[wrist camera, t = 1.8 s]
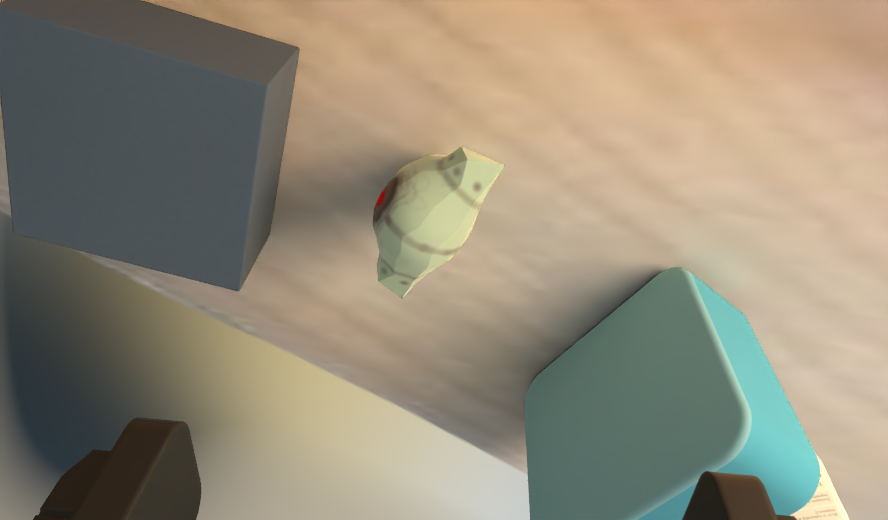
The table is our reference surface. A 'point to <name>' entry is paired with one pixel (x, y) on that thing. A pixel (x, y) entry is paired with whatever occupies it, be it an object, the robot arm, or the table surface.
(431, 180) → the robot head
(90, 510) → the robot arm
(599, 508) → the teal rounded slab
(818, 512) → the syrup box
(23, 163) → the square block
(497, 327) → the table surface
